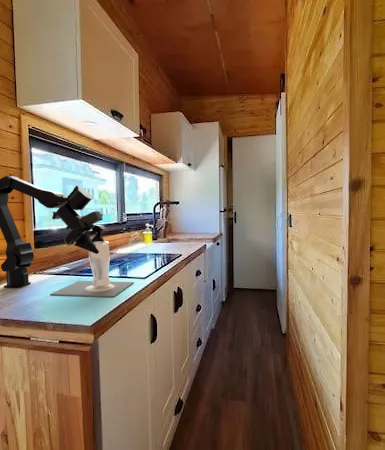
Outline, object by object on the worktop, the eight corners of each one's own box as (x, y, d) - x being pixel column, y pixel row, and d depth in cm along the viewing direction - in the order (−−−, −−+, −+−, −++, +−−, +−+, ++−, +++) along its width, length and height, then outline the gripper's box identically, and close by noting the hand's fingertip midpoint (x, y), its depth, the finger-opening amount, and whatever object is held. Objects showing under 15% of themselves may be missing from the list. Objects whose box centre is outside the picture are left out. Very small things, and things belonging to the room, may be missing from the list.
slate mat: (50, 295, 99) (50, 293, 99) (79, 281, 117) (79, 280, 117) (114, 297, 96) (113, 295, 96) (133, 283, 114) (133, 281, 113)
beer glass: (96, 289, 102) (93, 245, 100) (87, 285, 107) (84, 243, 105) (115, 284, 106) (112, 242, 105) (105, 280, 111) (103, 240, 110)
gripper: (71, 202, 96) (104, 238, 94) (100, 203, 114) (128, 233, 113) (50, 227, 98) (82, 262, 96) (82, 224, 116) (109, 253, 115)
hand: (102, 251), depth 105 cm, fingers closed on beer glass, 6 cm apart
